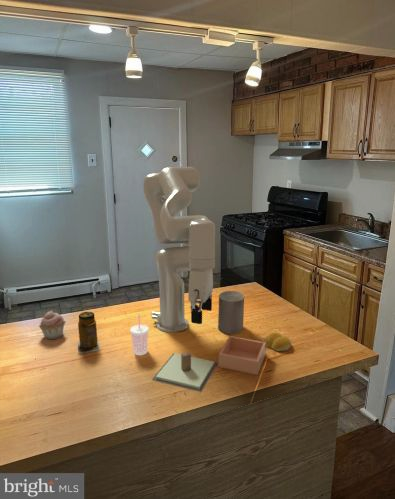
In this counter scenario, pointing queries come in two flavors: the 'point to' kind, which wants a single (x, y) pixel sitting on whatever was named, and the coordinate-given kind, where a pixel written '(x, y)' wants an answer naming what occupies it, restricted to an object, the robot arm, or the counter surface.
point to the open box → (242, 355)
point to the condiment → (87, 333)
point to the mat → (183, 385)
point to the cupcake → (52, 325)
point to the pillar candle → (231, 312)
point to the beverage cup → (139, 338)
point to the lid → (186, 370)
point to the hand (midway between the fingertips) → (201, 316)
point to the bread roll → (277, 342)
